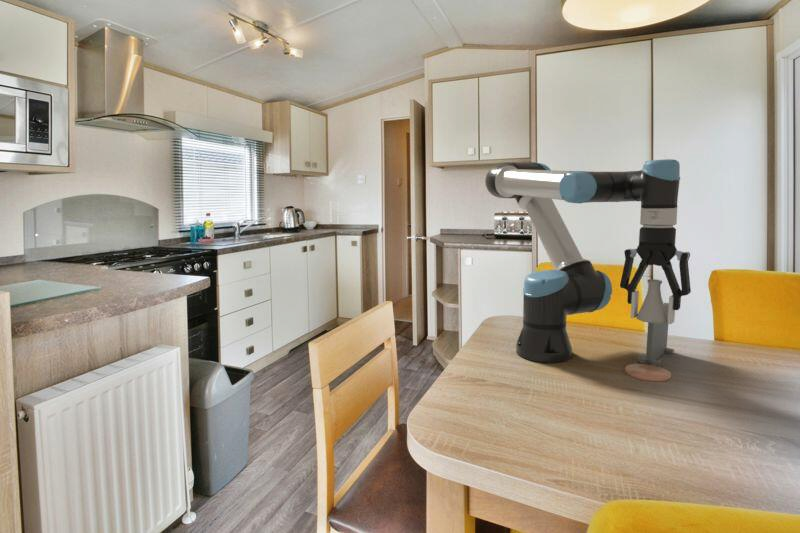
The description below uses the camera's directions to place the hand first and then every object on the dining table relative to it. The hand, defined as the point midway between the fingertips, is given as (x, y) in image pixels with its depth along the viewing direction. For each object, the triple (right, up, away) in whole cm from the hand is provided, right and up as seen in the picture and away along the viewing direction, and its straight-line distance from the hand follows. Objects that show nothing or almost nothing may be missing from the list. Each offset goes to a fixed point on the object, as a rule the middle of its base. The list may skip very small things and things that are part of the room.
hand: (651, 319), depth 109 cm
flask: (0, 0, 0) cm, 1 cm away
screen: (+9, -12, +13) cm, 20 cm away
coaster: (0, -14, +2) cm, 14 cm away
